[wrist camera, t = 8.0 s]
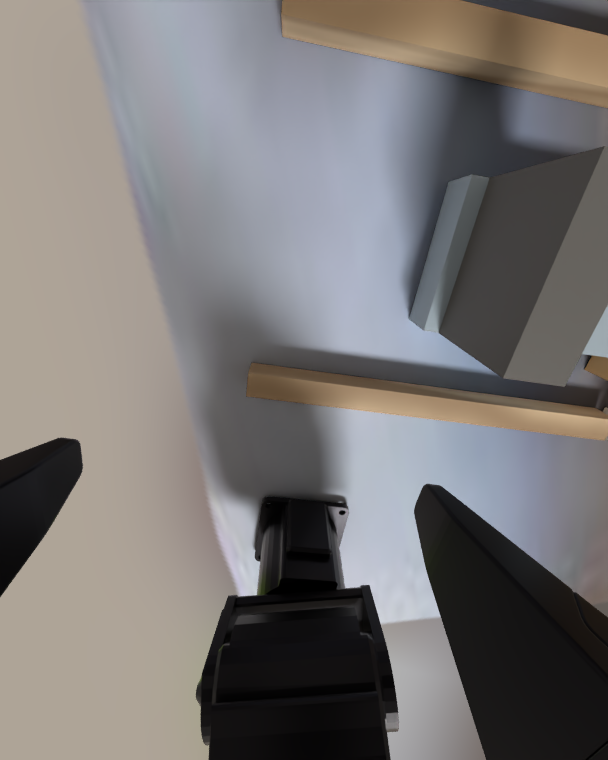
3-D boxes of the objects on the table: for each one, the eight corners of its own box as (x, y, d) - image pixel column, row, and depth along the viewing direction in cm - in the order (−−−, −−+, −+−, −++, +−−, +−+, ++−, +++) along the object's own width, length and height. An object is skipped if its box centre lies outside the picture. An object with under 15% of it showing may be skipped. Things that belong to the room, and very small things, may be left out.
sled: (598, 371, 21) (767, 449, 13) (402, 343, 20) (466, 411, 12) (698, 193, 17) (1018, 164, 9) (459, 145, 16) (606, 69, 8)
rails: (584, 427, 23) (604, 440, 21) (249, 384, 21) (246, 396, 19) (775, 101, 15) (826, 88, 14) (287, -12, 13) (286, -42, 12)
